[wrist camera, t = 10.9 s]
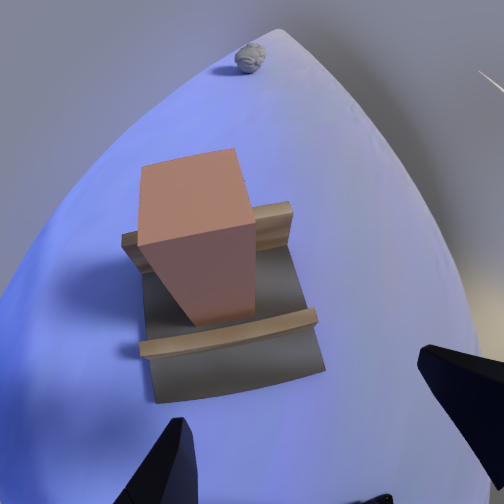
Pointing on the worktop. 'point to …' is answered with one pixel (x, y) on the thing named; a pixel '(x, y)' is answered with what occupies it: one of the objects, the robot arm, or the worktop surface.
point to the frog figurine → (250, 57)
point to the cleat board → (232, 326)
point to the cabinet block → (200, 234)
